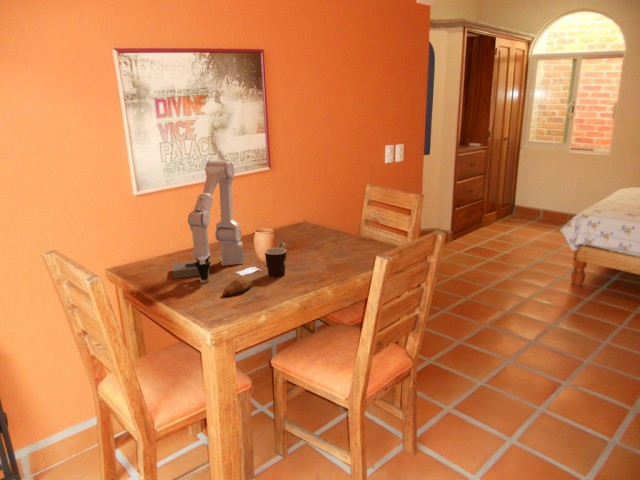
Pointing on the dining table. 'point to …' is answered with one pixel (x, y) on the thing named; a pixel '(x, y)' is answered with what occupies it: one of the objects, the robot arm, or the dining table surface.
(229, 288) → the croissant
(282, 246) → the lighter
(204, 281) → the peg
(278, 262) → the coffee mug
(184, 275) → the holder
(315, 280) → the dining table surface
